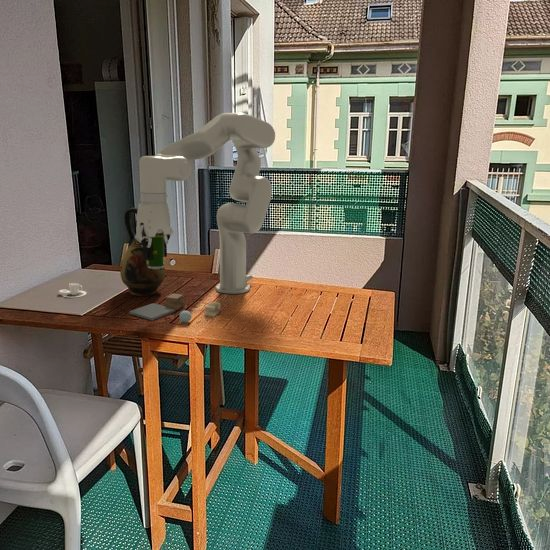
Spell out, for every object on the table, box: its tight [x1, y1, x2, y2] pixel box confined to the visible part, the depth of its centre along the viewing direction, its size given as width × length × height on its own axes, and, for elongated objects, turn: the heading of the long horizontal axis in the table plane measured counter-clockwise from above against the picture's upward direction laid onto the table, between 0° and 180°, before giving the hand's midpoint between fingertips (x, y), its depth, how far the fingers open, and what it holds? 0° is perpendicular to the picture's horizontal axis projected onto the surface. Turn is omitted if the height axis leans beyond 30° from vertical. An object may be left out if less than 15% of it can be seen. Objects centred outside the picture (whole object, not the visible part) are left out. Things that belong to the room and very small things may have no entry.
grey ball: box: [178, 310, 192, 323], centre depth 147 cm, size 4×4×4 cm
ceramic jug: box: [119, 206, 166, 297], centre depth 171 cm, size 17×15×30 cm
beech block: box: [204, 301, 221, 317], centre depth 155 cm, size 5×3×3 cm, turn 163°
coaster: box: [128, 302, 176, 321], centre depth 154 cm, size 10×10×1 cm
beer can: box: [146, 229, 166, 269], centre depth 149 cm, size 5×5×12 cm
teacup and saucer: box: [58, 282, 88, 299], centre depth 170 cm, size 9×8×4 cm
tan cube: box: [165, 293, 185, 311], centre depth 159 cm, size 4×4×4 cm
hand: (155, 257), depth 150 cm, fingers closed on beer can, 5 cm apart
